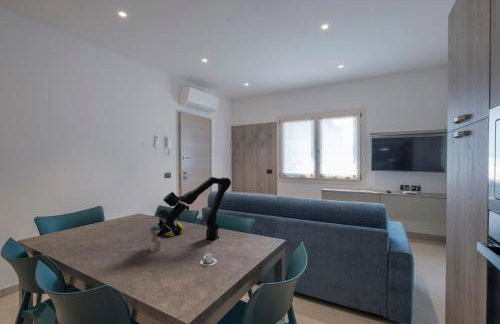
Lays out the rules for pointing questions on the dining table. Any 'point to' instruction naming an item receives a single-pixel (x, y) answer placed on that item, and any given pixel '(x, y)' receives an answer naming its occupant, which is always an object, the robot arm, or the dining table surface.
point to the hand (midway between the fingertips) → (155, 234)
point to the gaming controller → (175, 230)
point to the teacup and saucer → (208, 259)
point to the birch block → (154, 238)
